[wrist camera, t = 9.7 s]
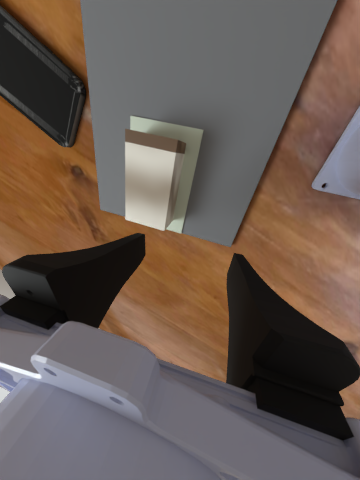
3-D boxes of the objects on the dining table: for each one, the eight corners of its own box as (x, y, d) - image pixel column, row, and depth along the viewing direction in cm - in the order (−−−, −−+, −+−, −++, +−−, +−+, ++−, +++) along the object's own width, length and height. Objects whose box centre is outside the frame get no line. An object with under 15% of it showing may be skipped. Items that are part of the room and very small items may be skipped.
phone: (67, 151, 20) (-41, 61, 18) (74, 151, 21) (-28, 66, 19) (83, 82, 16) (-55, -44, 14) (91, 86, 17) (-37, -31, 15)
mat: (377, -100, 9) (387, -116, 8) (230, 244, 21) (230, 247, 20) (76, -99, 11) (69, -111, 11) (103, 208, 23) (100, 209, 23)
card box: (172, 220, 20) (164, 230, 17) (139, 210, 21) (125, 219, 18) (186, 143, 16) (177, 139, 13) (142, 134, 16) (125, 128, 13)
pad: (131, 115, 16) (130, 115, 16) (203, 130, 15) (203, 129, 15) (130, 218, 22) (129, 218, 22) (181, 232, 21) (181, 233, 21)
